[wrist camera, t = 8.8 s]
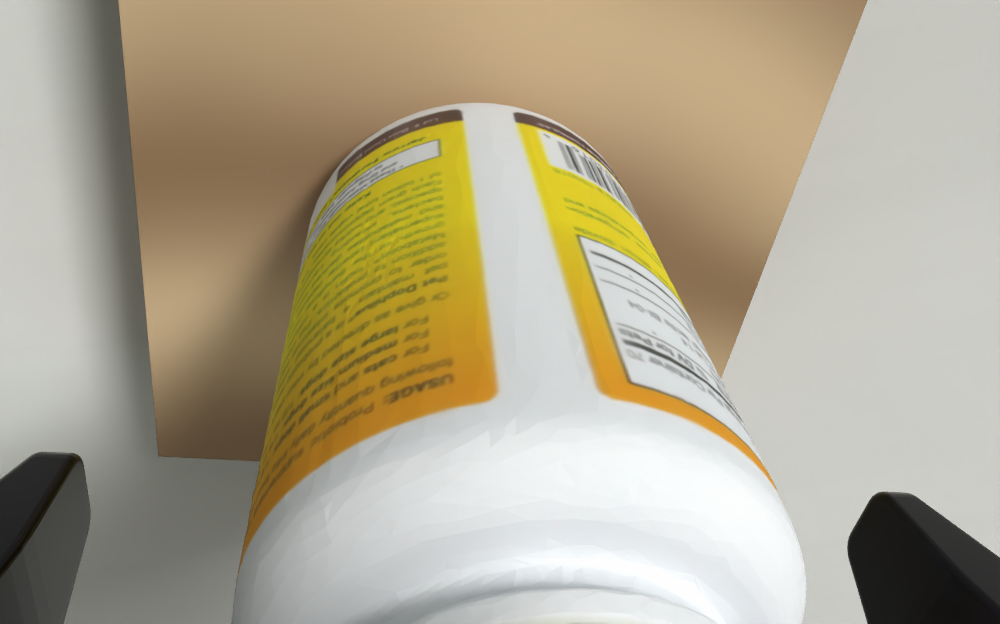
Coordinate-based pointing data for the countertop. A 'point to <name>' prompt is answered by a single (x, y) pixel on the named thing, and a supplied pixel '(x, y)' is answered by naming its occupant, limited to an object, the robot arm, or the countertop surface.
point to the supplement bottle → (501, 405)
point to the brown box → (428, 84)
